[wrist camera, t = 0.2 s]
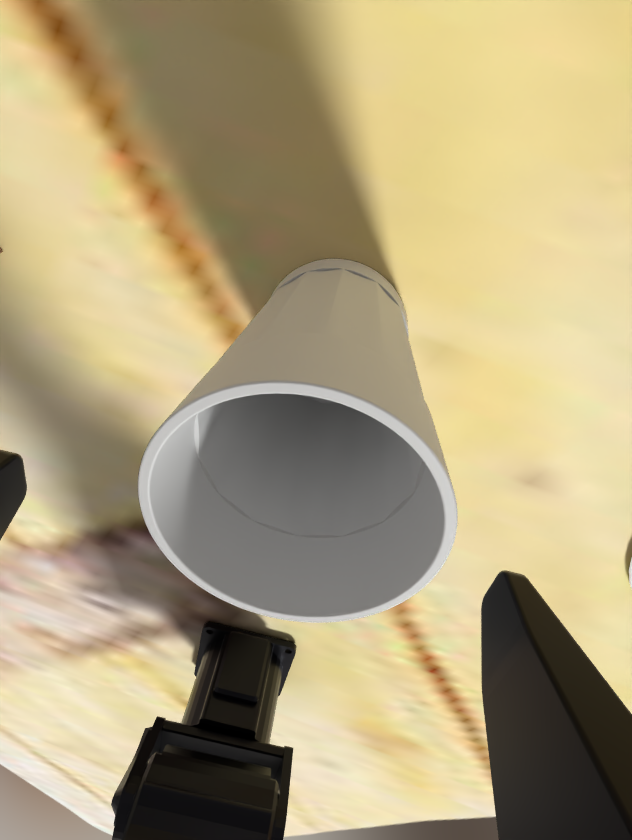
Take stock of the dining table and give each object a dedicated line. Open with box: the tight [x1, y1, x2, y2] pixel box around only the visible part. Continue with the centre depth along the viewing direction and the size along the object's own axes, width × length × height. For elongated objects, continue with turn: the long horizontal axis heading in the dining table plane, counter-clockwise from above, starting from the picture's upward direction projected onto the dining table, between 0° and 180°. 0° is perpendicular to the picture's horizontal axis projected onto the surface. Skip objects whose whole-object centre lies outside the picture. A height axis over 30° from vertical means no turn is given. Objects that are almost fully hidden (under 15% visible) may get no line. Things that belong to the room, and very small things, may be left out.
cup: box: [138, 259, 457, 622], centre depth 18 cm, size 8×8×12 cm
